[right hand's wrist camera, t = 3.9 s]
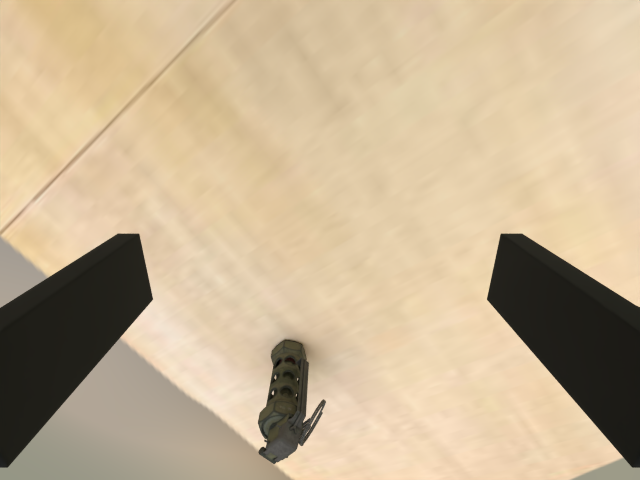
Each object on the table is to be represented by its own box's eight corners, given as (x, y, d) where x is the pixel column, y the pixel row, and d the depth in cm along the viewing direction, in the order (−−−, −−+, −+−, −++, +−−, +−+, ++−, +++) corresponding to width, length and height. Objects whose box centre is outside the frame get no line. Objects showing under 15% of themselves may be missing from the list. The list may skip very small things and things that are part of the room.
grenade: (291, 380, 50) (280, 485, 36) (262, 357, 49) (239, 458, 35) (334, 346, 48) (340, 444, 34) (305, 321, 46) (299, 413, 33)
